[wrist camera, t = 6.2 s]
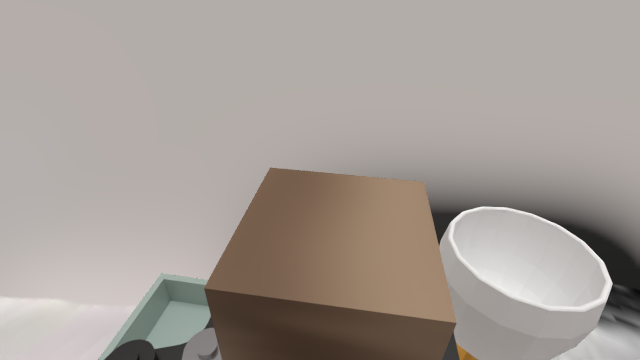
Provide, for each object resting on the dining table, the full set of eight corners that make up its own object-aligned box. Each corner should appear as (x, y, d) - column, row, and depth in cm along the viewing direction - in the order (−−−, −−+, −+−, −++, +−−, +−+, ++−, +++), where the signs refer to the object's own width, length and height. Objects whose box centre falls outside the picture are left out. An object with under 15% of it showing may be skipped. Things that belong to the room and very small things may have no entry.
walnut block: (378, 381, 15) (423, 181, 9) (379, 515, 11) (456, 323, 6) (283, 366, 16) (270, 167, 10) (254, 490, 12) (204, 287, 6)
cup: (531, 471, 23) (665, 337, 14) (400, 436, 25) (451, 296, 16) (500, 349, 30) (576, 214, 22) (401, 328, 32) (436, 194, 24)
